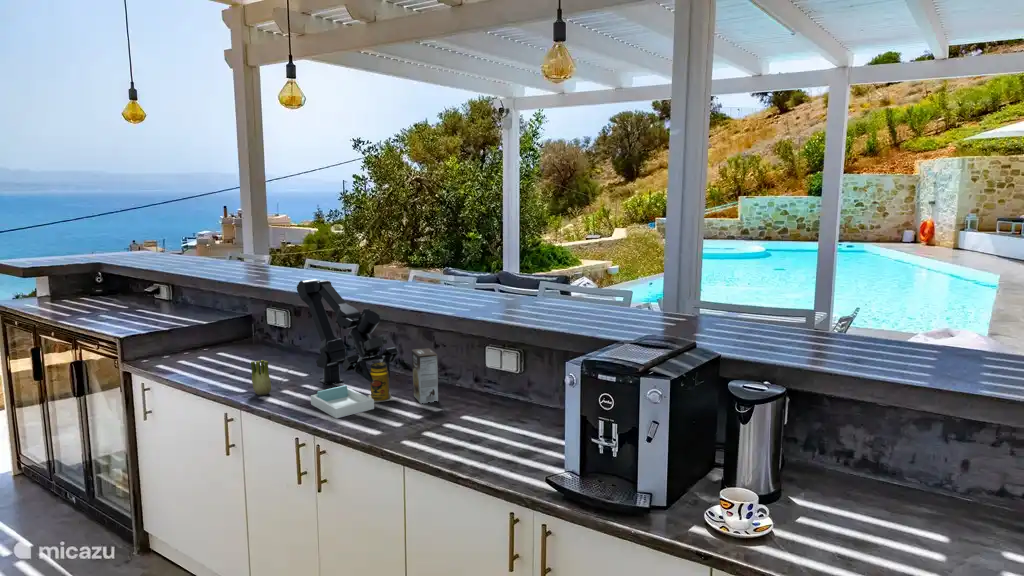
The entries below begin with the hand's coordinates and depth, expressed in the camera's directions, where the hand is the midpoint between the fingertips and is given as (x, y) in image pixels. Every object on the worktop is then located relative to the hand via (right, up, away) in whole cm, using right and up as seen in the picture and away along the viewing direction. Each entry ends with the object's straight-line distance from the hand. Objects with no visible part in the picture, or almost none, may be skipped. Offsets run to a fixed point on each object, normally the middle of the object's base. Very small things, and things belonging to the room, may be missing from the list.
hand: (380, 380), depth 214 cm
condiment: (-1, -7, +2) cm, 7 cm away
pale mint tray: (-11, -8, -6) cm, 15 cm away
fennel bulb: (-42, -6, +8) cm, 43 cm away
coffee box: (+15, -7, +1) cm, 16 cm away
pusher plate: (-16, -6, -1) cm, 17 cm away
